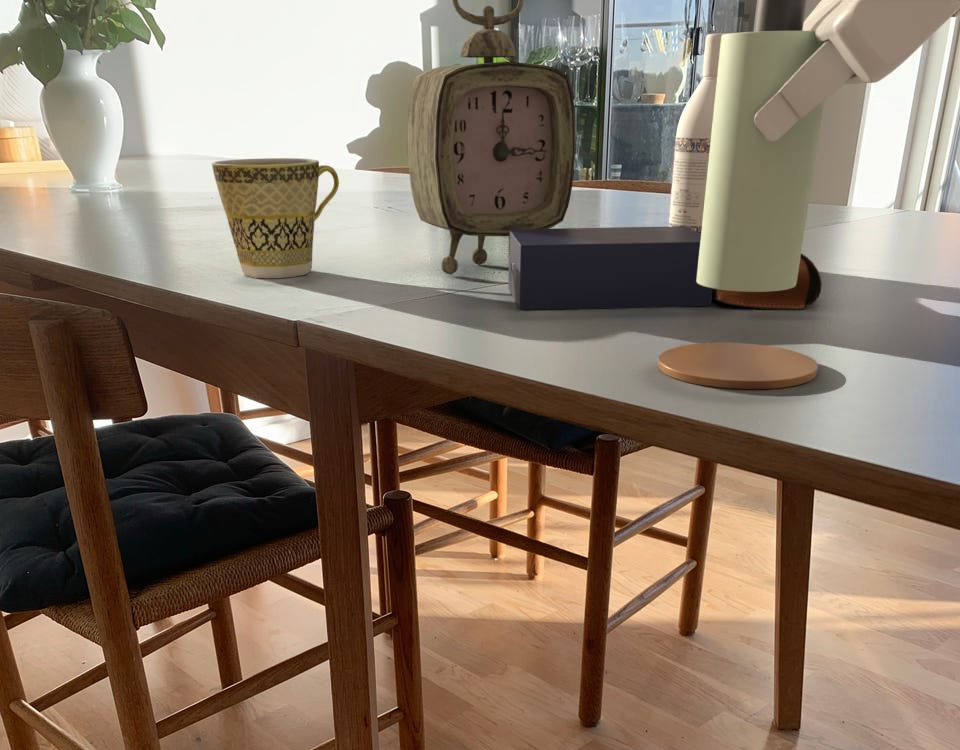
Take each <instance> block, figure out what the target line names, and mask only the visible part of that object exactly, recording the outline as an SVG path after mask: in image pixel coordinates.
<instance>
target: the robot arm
mask: <svg viewBox="0 0 960 750" xmlns="http://www.w3.org/2000/svg"><path fill="white" fill-rule="evenodd" d="M959 16H960V0H820V1H819V3H818V4H817V5H815V7H814V8H813V10H812V11H811V12H810V13H809V15H808V16H807V17H806V18H805V19H804V23H803V30H802V31H815V39H816V41H817V42H818V43H819V42H822V41H825V40H826V41H825V42H824V43H823V44H822V45H821V46H820V47H819V48H818V49H817V50H816V51H815V52H814V53H813V54H812V55H811V56H810V57H809V58H808V59H807V60H806V61H805V63H804V64H803V65H802V66H801V67H800V68H799V69H798V70H797V72H796V73H795V74H794V75H793V76H792V77H791V78H790V79H789V80H788V81H787V82H786V83H785V84H784V85H783V87H782V88H781V89H780V90H779V91H778V92H776V93H775V94H774V95H773V96H772V97H771V98H770V99H769V100H768V101H767V102H766V103H765V104H764V105H763V106H762V107H761V108H760V109H759V110H758V111H757V112H756V113H755V115H754V119H753V123H754V124H755V126H756V127H757V128H758V130H759V131H760V132H761V133H762V135H763V136H764V137H765V138H766V139H767V140H768V141H774V142H775V141H777V140H779V139H780V138H781V137H782V136H783V135H784V134H785V133H786V132H787V131H788V130H789V129H790V128H791V127H792V126H793V125H795V124H796V123H797V122H798V121H799V120H800V119H801V118H803V117H804V116H805V115H807V114H808V113H809V112H811V111H812V110H813V109H815V108H816V107H817V106H818V105H820V104H821V103H822V102H824V103H825V101H826V100H828V99H829V98H830V97H832V96H833V95H834V94H835V93H836V92H838V90H839V89H840V88H841V87H843V86H844V85H853V84H855V85H856V84H857V85H858V84H875V83H878V82H881V80H883V79H884V78H886V77H887V76H889V75H890V74H891V73H893V72H894V71H895V70H896V69H898V67H900V66H901V65H902V64H904V63H905V62H906V61H907V60H908V59H909V58H910V57H911V56H912V55H913V54H914V53H915V52H916V51H917V50H918V49H920V47H921V46H922V45H924V43H925V42H927V41H928V40H929V38H931V37H932V36H933V35H934V34H935V33H936V32H937V31H938V30H939V29H940V28H941V27H942V26H943V25H945V23H947V21H948V20H949V19H950V18H958V17H959Z"/></svg>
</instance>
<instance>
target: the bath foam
mask: <svg viewBox="0 0 960 750" xmlns="http://www.w3.org/2000/svg"><path fill="white" fill-rule="evenodd" d="M723 34H729V32H728V33H727V32H725V33H708V34H706V37H705V44H704V45H705V46H704V57H703V67H702V78H701V80H700V82H699V84H698V85H697V87H696V88H695V90H694V91H693V93H692V94H691V96H690V98H689V99H688V101H687V103H686V104H685V106H684V108H683V110H682V113H681V115H680V117H679V121H678V123H677V129H676V132H675V133H676V135H675V141H674V153H673V163H672V164H673V165H672V176H671V188H670V200H669V210H668V211H669V212H668V224H667V227H671V226H686V227H688V228H690V229H692V230H694V231H696V232H699V233H701V231H702V221H703V211H704V201H705V191H706V182H707V172H708V162H709V152H710V143H711V133H712V123H713V113H714V103H715V94H716V84H717V74H718V64H719V55H720V45H721V36H722V35H723Z"/></svg>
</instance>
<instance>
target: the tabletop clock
mask: <svg viewBox="0 0 960 750" xmlns="http://www.w3.org/2000/svg"><path fill="white" fill-rule="evenodd" d="M452 5H453V7H454V9H455V11H456V12H457V14H458V15H459V16H460V17H461V19H463V20H464V21H467V22H469V23H471V24H473V25H478V26H482V29H479V30H475V31H473V32H472V33H470V34H469V36H467V38H466V39H465V41H464V44H463V46H462V48H461V52H460V55H459V57H460V58H467V59H468V58H473V59H475V58H476V59H477V58H479V59H480V58H481V59H483V62H482V63H481V62H480V63H470V64H457V65H447V66H438V67H433V68H430V69H427V70H426V71H424V72H422V73H420V74H418V75H416V76H415V77H414V82H413V84H412V88H411V91H410V94H409V95H410V96H409V101H408V110H407V111H408V112H407V141H406V143H407V145H406V155H407V162H408V171H409V172H408V173H409V182H410V189H411V195H412V199H413V203H414V207H415V210H416V212H417V214H418V217H419V219H420V221H421V222H424V223H426V224H428V225H431V226H434V227H436V228H440V229H443V230H447V231H449V235H450V242H449V252H448V256H446V257H444V258H443V259H442V260H441V263H440V265H441V270H442V271H443V273H445V274H447V275H453V274H454V273H456V272H457V271H458V267H459V263H458V261H457V259H456V258H455V257H456V253H457V250H458V246H459V243H460V241H461V239H462V237H463V236H464V235H465V236H470V237H471V236H472V237H473V236H474V237H477V248H475V249H474V250H473V251H472V253H471V260H472V262H473V263H474V264H475V265H477V266H480V265H484V264H485V263H486V262H487V260H488V253H487V251H486V249H484V245H485V240H486V237H509V229H553V227H555V226H557V225H558V224H561V223H562V222H564V219H565V216H566V213H567V211H568V208H569V205H570V201H571V195H572V191H573V190H572V189H573V182H574V173H575V161H576V152H577V146H576V141H577V139H576V109H575V101H574V93H573V89H572V85H571V82H570V78H569V75H568V74H566V73H564V72H563V71H561V70H559V69H558V68H556V67H552V66H550V65H544V64H537V63H536V64H535V63H527V62H516V61H498V62H497V61H496V62H495V61H494V58H517V57H518V56H517V52H516V48H515V45H514V43H513V41H512V39H511V38H510V37H509V35H508V34H507V33H506V32H503V31H501V30H498V29H495V26H499V25H500V26H501V25H504V24H507V23H509V22H512V21H513V20H515V19H516V17H517V16H518V15H519V14H520V13H521V12H522V8H523V6H524V0H518V3H517V6H516V8H514V9H513V10H512V11H510V12H509V13H506V14H504V15H503V14H502V15H501V16H500V15H497V16H495V9H494V7H493V6H491V5H486V6H484V7H483V9H482V15H475V14H473V13H470V12H468V11H466V10H465V9H464V8H463V7H461V6H460V4H459V1H458V0H452Z"/></svg>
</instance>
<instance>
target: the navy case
mask: <svg viewBox="0 0 960 750" xmlns="http://www.w3.org/2000/svg"><path fill="white" fill-rule="evenodd" d="M700 240H701V233H699V232H696V231H694V230H692V229H690V228H688V227H686V226H671V227H668V226H626V227H625V226H621V227H620V226H619V227H616V226H615V227H564V228H549V229H509V236H508V279H507V280H508V282H507V283H508V290H509V292H510V294H511V296H512V298H513V300H514V301H515V303H516V305H517V307H518V309H519V311H544V310H545V311H546V310H589V309H590V310H591V309H631V308H632V309H633V308H637V309H638V308H639V309H640V308H675V307H676V308H678V307H679V308H681V307H710V306H711V305H712V297H713V296H712V288H709V287H705V286H702V285H700V284H698V283H697V281H696V279H697V270H698V260H699V250H700Z"/></svg>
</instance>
